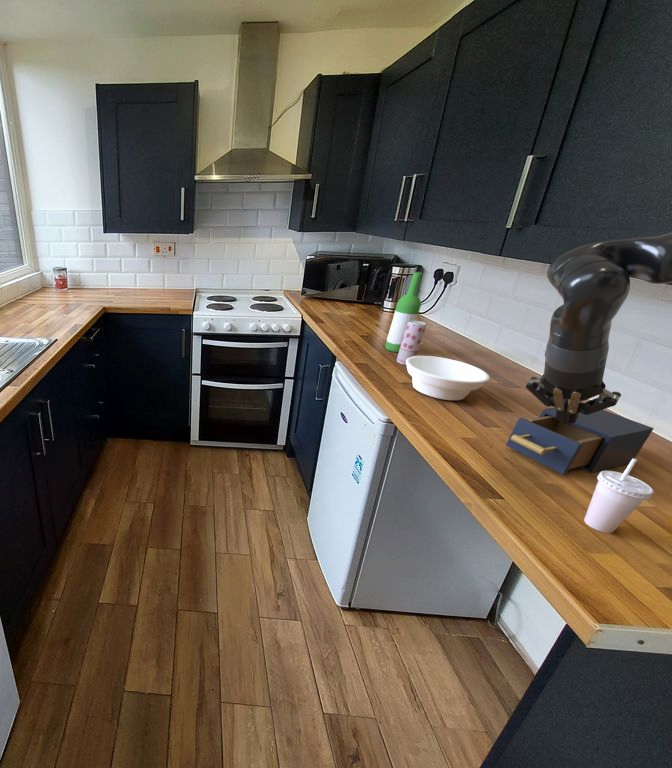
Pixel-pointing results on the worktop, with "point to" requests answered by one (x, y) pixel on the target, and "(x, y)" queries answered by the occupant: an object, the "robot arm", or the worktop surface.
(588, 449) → the drawer
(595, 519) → the smoothie
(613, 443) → the cabinet
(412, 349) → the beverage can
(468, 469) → the worktop surface
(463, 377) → the bowl
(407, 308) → the wine bottle
